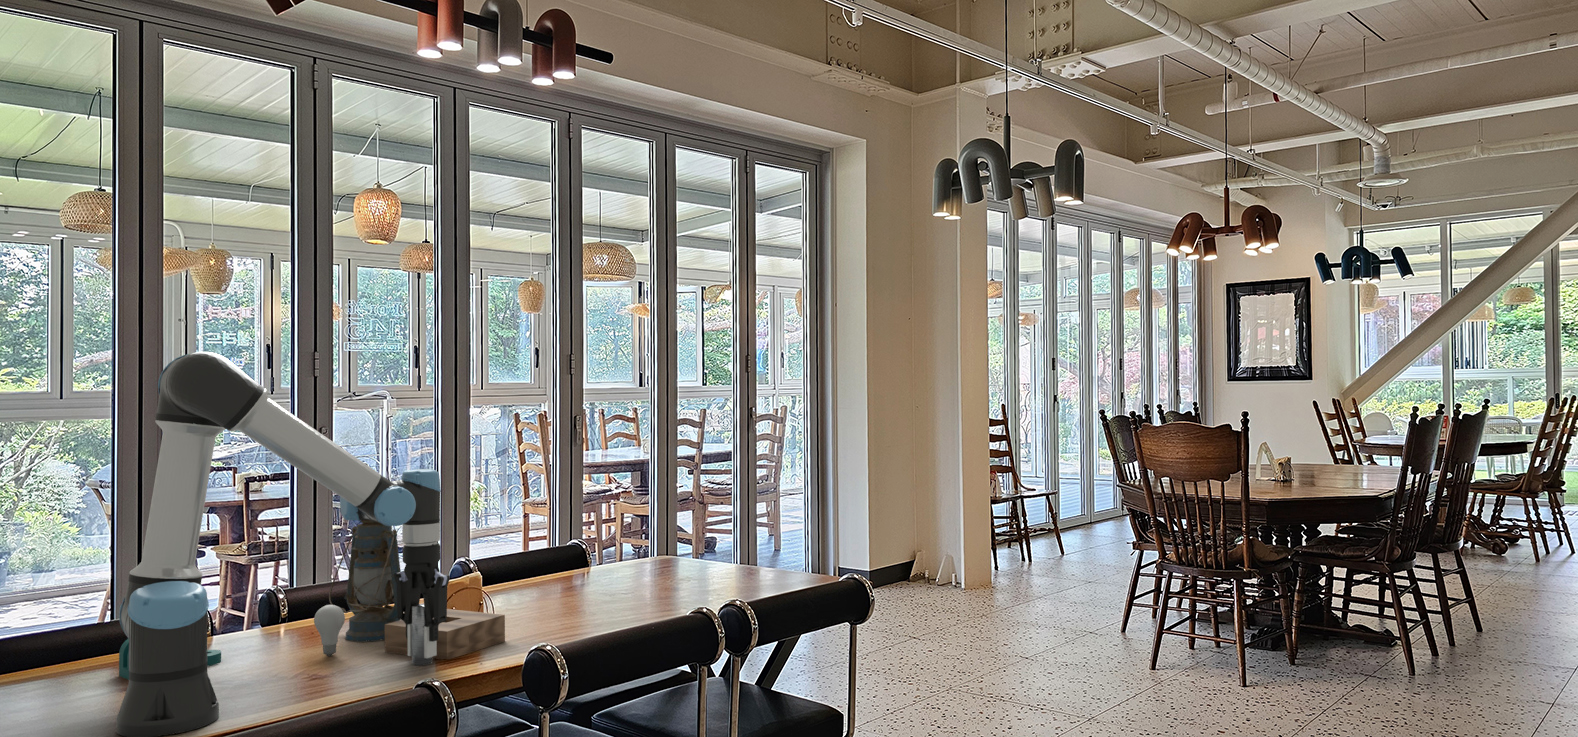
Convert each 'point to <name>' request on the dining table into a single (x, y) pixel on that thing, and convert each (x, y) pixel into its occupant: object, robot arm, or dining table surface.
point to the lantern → (371, 581)
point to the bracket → (212, 659)
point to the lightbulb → (329, 626)
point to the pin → (418, 635)
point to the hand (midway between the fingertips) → (422, 655)
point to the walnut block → (453, 634)
